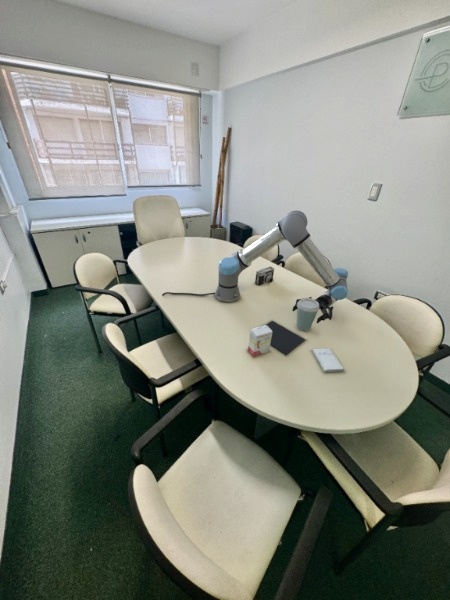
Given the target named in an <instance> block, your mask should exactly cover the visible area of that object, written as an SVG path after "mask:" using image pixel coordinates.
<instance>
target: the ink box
mask: <svg viewBox="0 0 450 600" xmlns="http://www.w3.org/2000/svg"><path fill="white" fill-rule="evenodd" d="M272 332H273V331H272V330H271V329H270V328H269V327H268V326H267V325H266V324H265V325H261V326H258V327H254V328H251V329H250V331H249V339H248V346H247V347H248V348H247V351H248V352H249V353H250V354H251V356H252V357H253V358H254V357H257V356H259V355H263V354H265V353H268V352H270V347H271V345H270V343H271V337H272Z"/></svg>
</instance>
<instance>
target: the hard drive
mask: <svg viewBox="0 0 450 600" xmlns="http://www.w3.org/2000/svg"><path fill="white" fill-rule="evenodd" d="M312 353H313V354H314V357H315V358H316V361H318V363H319V365H320V366H321V369H322V370H323V372H324V373H336V372H337V373H338V372H344V371H345V368H344V367H343V365H342V364H341V362H340V361H339V360H338V358H337V356H336V355H335V354H334V352H333V351H332V349H331V348H330V347H328V348H313V349H312Z"/></svg>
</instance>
